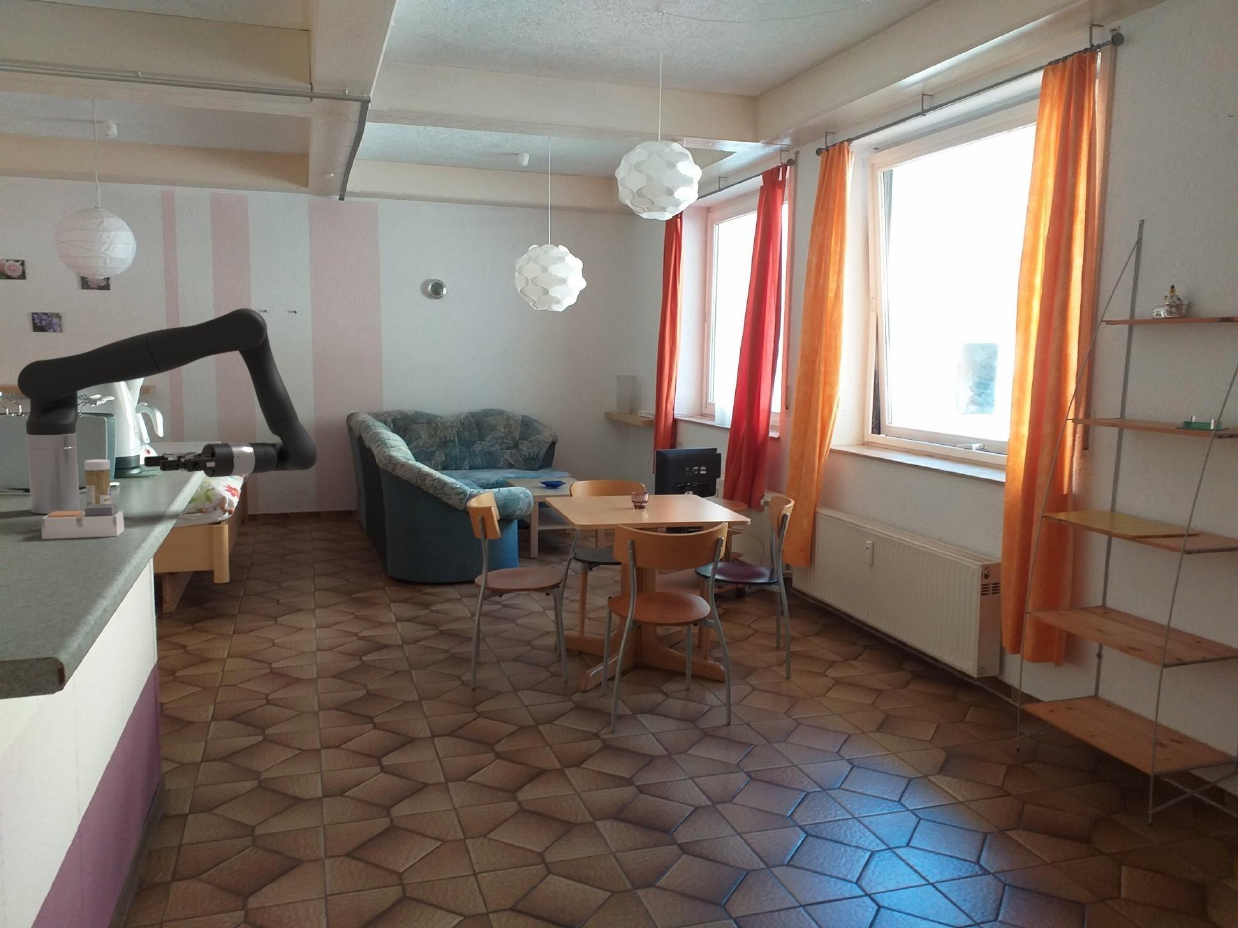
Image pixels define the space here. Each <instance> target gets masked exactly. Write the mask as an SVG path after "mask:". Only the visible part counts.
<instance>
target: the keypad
mask: <svg viewBox="0 0 1238 928" xmlns="http://www.w3.org/2000/svg"><path fill="white" fill-rule="evenodd" d="M50 514H51V513H50ZM48 515H49V514H47V515H44V516H43V517H41V518H40V521H41V522H40V523H41V539H42V540H51V539H52V540H54V539H77V538H78V539H79V538H80V539H81V538H101V537H104V538H106V537H118V536H119V535H120V534H121V533H123V532H124V531H125V520H124V519H125V517H124V516H125V515H124V510H117V513H116V514H115V515H114V516H92V517H85V511H82V514H81V515H79V516H78V517H61V518H48Z"/></svg>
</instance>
